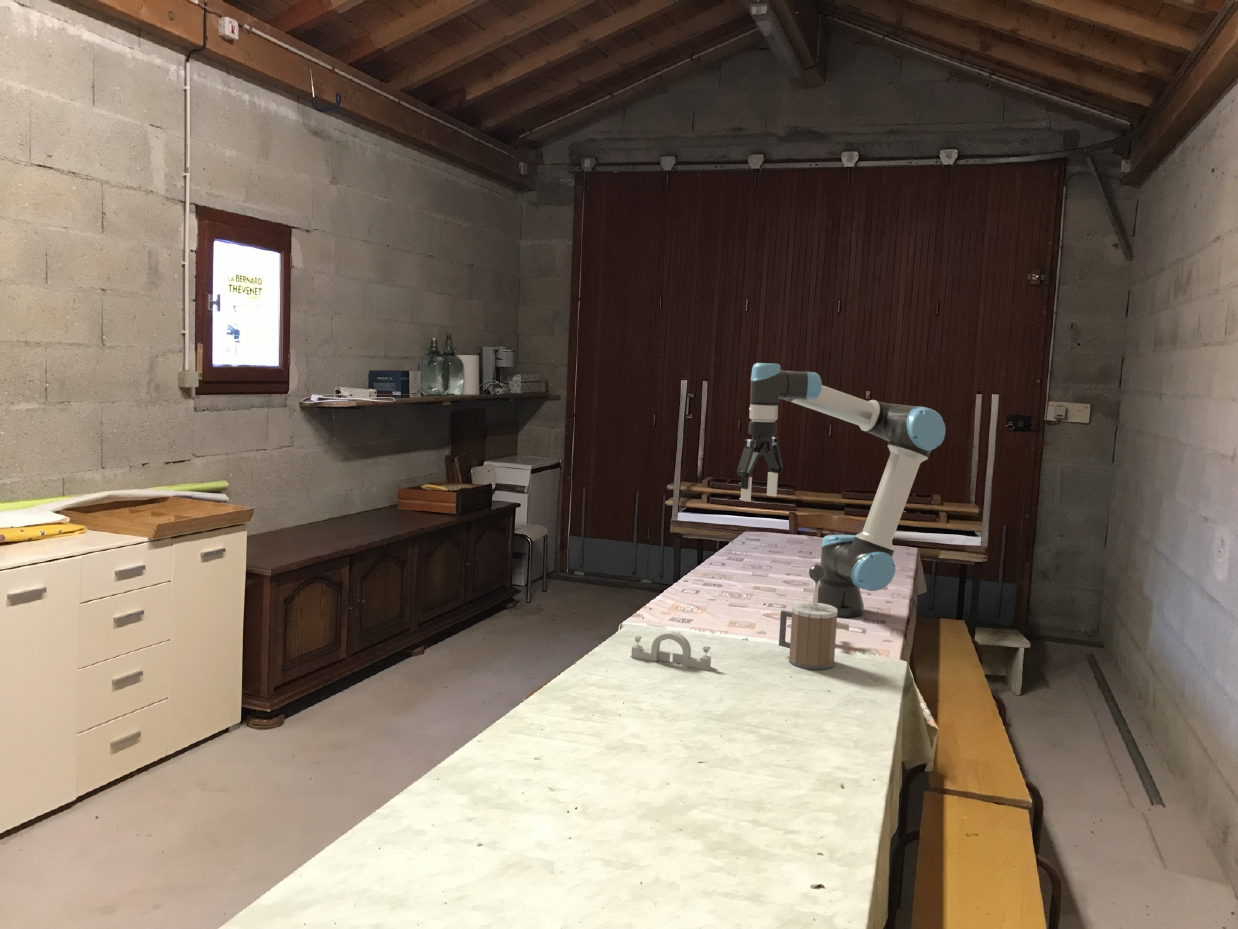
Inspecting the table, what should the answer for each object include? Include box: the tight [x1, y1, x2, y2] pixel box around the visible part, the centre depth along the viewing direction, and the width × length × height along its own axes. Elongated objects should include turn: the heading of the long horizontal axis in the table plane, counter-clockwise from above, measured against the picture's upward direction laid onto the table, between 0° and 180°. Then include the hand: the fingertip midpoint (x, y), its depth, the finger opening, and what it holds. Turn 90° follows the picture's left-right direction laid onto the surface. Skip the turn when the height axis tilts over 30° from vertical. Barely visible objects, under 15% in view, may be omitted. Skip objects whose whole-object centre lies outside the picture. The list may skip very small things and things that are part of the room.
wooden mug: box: [778, 601, 838, 671], centre depth 237 cm, size 11×14×14 cm
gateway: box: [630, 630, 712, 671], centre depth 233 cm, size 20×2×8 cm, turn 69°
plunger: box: [808, 564, 825, 610], centre depth 236 cm, size 8×8×22 cm
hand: (758, 498), depth 260 cm, fingers open, 13 cm apart
